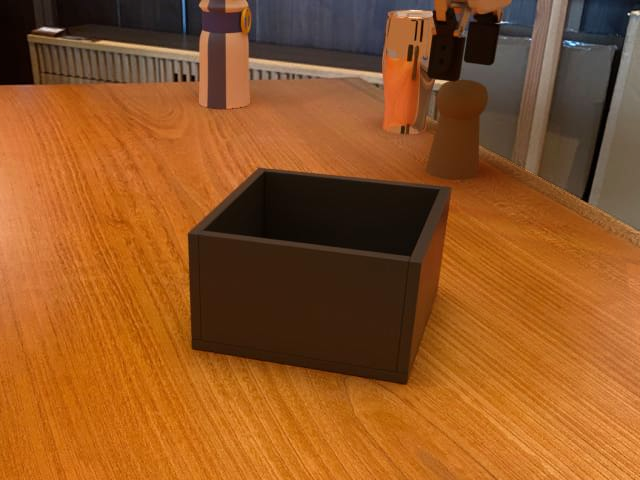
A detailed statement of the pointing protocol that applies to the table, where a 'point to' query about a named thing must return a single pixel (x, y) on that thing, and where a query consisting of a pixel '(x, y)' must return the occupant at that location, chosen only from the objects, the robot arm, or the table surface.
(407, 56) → the beer glass
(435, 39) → the robot arm
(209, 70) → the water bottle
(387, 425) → the table surface
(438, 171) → the cork
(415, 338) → the bin
